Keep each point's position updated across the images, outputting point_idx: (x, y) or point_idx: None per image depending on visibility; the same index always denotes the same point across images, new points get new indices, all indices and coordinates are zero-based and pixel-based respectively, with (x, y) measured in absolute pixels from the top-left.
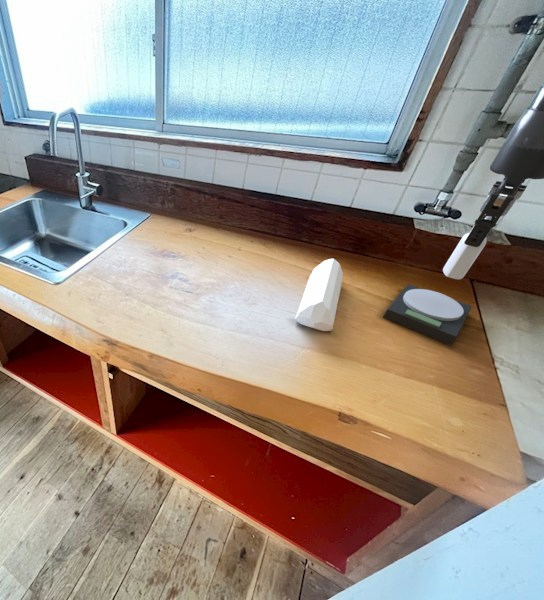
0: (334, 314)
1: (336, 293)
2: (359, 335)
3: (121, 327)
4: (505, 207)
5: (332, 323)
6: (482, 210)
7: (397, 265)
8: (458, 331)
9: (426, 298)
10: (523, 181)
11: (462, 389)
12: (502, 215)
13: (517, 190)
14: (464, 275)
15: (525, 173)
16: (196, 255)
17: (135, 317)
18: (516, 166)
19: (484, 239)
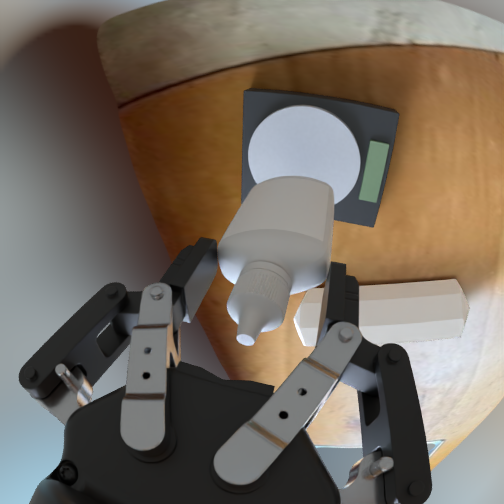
0: (442, 296)
1: (391, 310)
2: (444, 241)
3: (490, 400)
4: (423, 450)
5: (461, 292)
6: (318, 412)
7: (156, 217)
8: (377, 109)
9: (293, 173)
10: (33, 376)
11: (497, 103)
12: (335, 374)
13: (259, 487)
14: (315, 182)
15: None
16: (340, 411)
17: (476, 401)
18: None
19: (285, 257)
